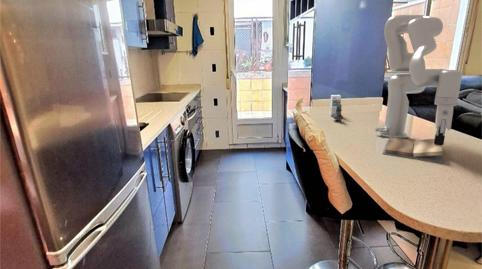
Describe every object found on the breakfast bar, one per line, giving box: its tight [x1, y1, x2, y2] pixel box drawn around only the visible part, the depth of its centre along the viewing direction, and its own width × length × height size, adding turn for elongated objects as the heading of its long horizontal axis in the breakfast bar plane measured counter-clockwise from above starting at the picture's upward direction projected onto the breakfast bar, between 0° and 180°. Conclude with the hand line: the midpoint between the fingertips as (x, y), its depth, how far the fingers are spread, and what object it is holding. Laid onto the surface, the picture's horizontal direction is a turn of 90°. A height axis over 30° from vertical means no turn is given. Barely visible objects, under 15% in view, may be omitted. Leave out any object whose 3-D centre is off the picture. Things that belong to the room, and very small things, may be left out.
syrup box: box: [329, 94, 342, 118], centre depth 192 cm, size 6×6×14 cm
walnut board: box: [385, 138, 414, 157], centre depth 127 cm, size 10×20×2 cm, turn 148°
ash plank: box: [413, 138, 444, 157], centre depth 121 cm, size 10×20×2 cm, turn 148°
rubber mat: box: [382, 139, 445, 164], centre depth 125 cm, size 22×22×1 cm
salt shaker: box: [333, 103, 344, 123], centre depth 178 cm, size 6×6×12 cm
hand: (438, 144), depth 119 cm, fingers closed
